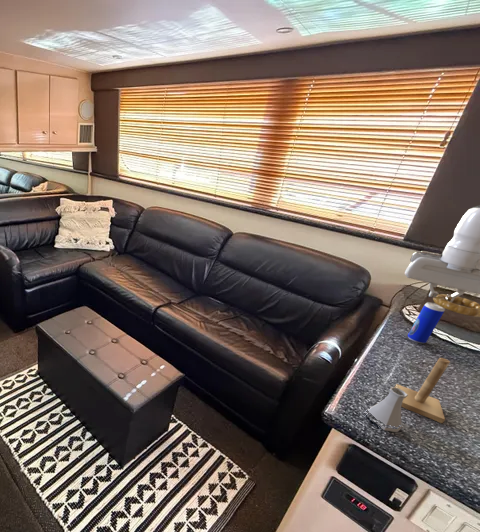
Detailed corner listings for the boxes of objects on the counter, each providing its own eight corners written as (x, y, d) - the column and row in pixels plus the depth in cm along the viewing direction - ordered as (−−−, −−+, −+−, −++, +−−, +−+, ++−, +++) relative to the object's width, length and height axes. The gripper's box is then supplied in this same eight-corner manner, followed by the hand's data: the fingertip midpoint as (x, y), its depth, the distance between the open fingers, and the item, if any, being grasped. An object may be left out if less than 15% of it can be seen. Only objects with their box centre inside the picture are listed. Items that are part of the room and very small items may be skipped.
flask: (378, 408, 86) (395, 380, 83) (408, 431, 80) (427, 401, 76) (356, 411, 85) (372, 382, 81) (384, 434, 79) (403, 404, 75)
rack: (436, 403, 89) (465, 359, 83) (442, 423, 83) (474, 377, 77) (394, 387, 95) (418, 344, 89) (396, 405, 88) (423, 360, 82)
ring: (479, 308, 99) (483, 301, 98) (489, 322, 91) (494, 315, 90) (429, 296, 105) (433, 289, 104) (434, 308, 97) (438, 301, 96)
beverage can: (407, 334, 123) (426, 300, 117) (425, 340, 119) (446, 306, 114) (406, 339, 120) (425, 304, 114) (425, 345, 116) (446, 310, 110)
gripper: (416, 251, 98) (396, 290, 104) (519, 271, 87) (491, 314, 92) (414, 247, 103) (395, 285, 108) (511, 265, 91) (485, 307, 96)
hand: (440, 298), depth 100 cm, fingers closed on ring, 2 cm apart
